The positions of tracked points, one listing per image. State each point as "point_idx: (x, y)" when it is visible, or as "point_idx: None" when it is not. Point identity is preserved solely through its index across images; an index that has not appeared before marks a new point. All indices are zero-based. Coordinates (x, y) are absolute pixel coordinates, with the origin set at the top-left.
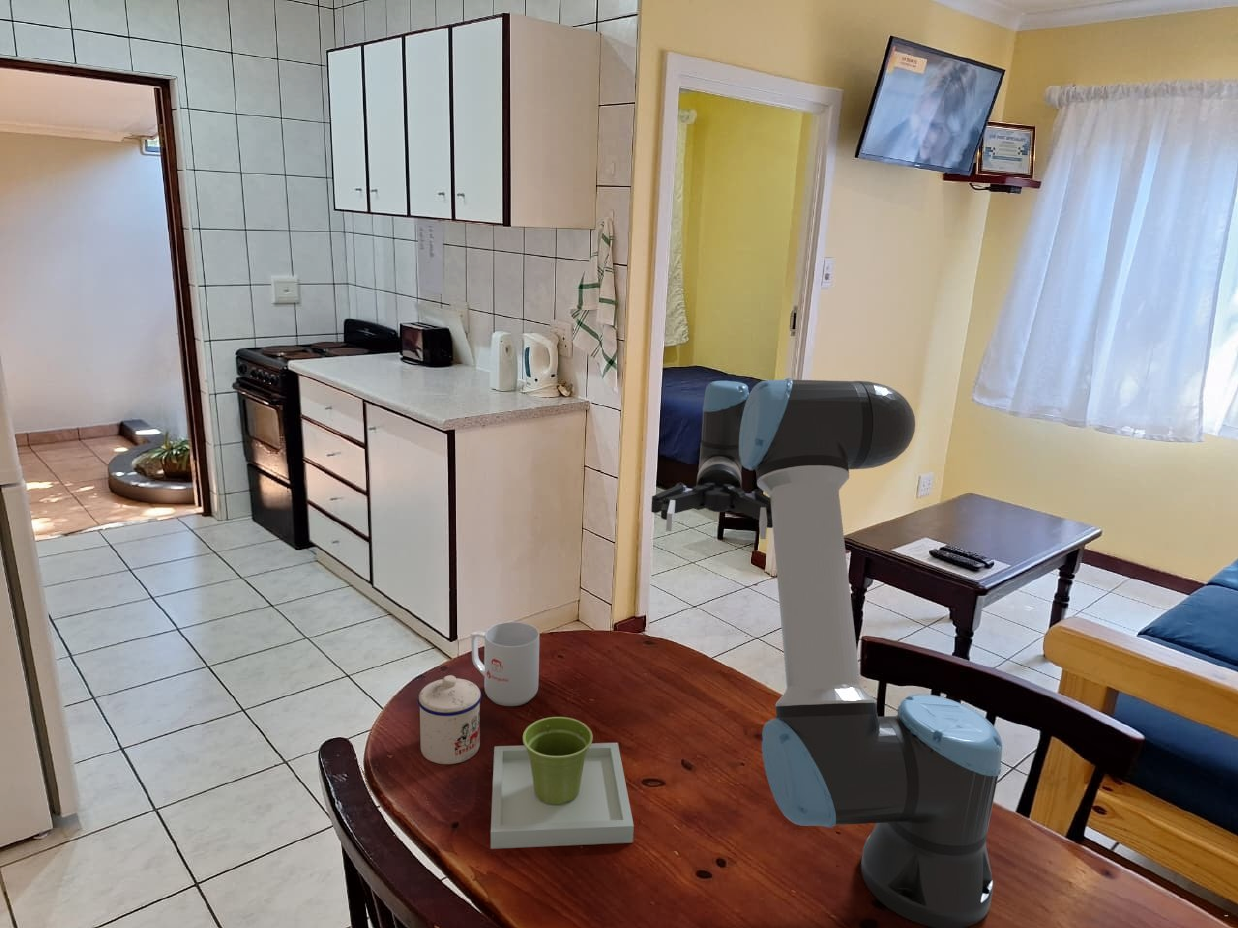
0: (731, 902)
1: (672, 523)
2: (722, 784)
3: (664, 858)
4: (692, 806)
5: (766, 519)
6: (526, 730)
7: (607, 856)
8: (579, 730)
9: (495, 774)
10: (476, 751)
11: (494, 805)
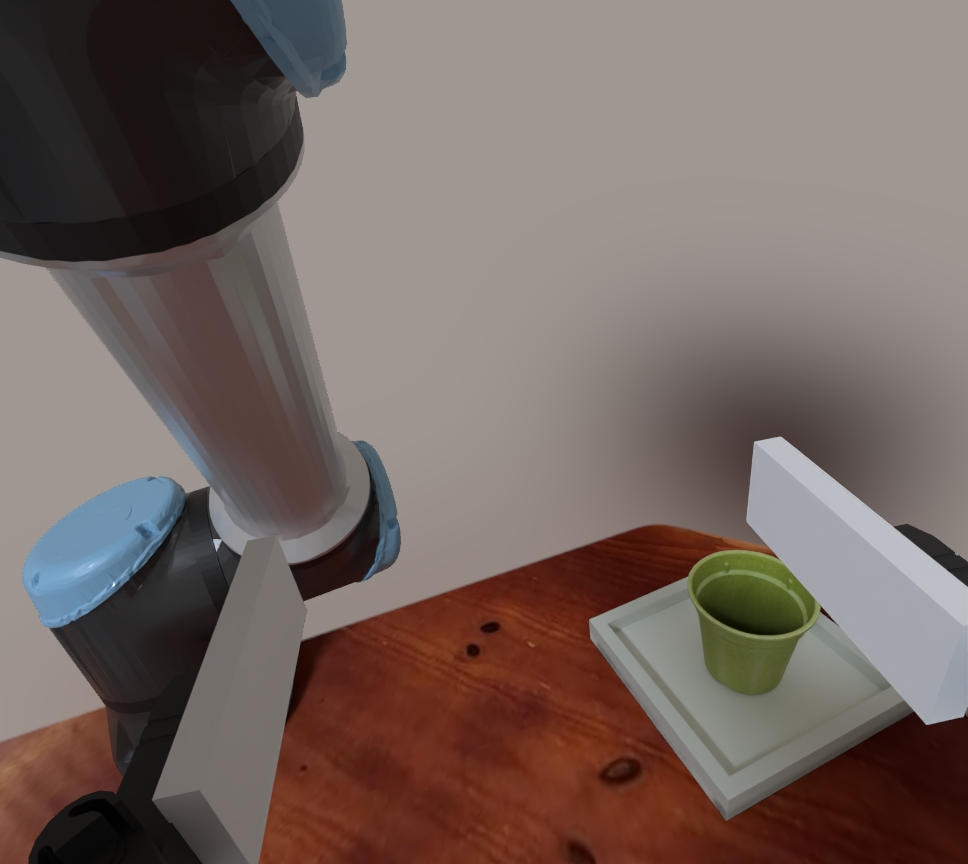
0: (454, 605)
1: (790, 554)
2: (497, 819)
3: (542, 630)
4: (535, 736)
5: (241, 564)
6: None
7: (608, 609)
8: (744, 639)
9: (840, 631)
10: (965, 713)
11: None
